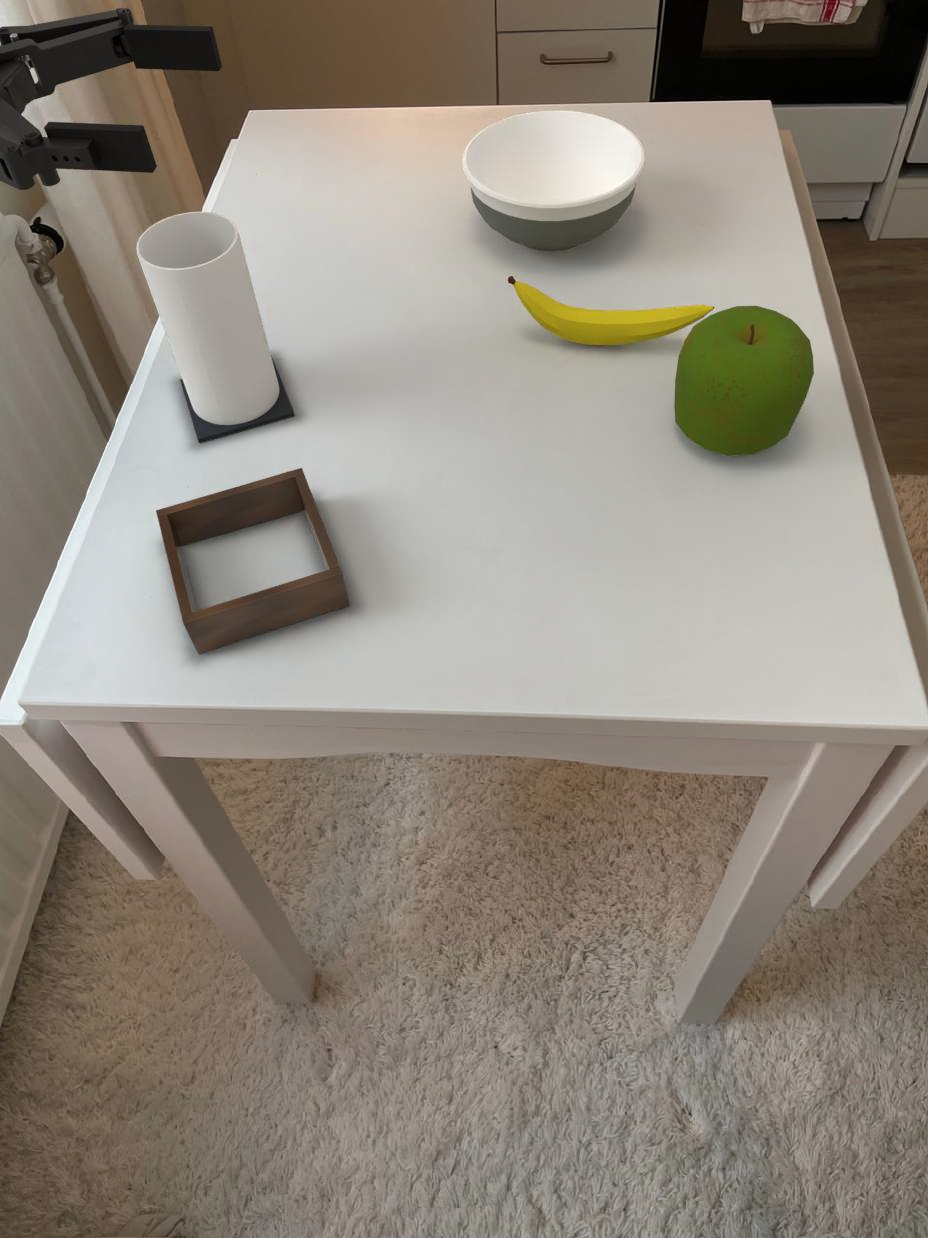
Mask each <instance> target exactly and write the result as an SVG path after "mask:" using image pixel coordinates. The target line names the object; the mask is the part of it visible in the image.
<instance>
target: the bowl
mask: <svg viewBox="0 0 928 1238" xmlns="http://www.w3.org/2000/svg"><path fill="white" fill-rule="evenodd" d="M461 164H462V169H463V174H464V175H465V176H466V178H467V181H468V184H469V187H470V193H471V198H472V203H473V205H474V207H475V208H476V210H477V212H478V213H479V215H480V216H481V218H482V219H483V221H484V223H486V224H487V225H488V226H489V227H490V229H492V230H494V231H495V232H497V233H498V234H500V235H501V236H503V237H504V238H506V239H507V240H510V241H512V242H514V243H516V244H518V245H523V246H524V247H526V248H528V249H532V250H536V251H542V252H558V251H564V250H570V249H571V248H575V247H577V246H579V245H582V244H584V243H588V242H590V241H592V240H594V239H596V238H598V237H599V236H601V235H602V234H604V233H606V232H608V231H609V230H610V229H611V228H612V227H613V226H615V225H616V224H617V223H618V222H619V220H620V219H621V218H622V216H623V215H624V214H625V212H626V211H627V209H628V208H629V207H630V205H631V204H632V200H633V198H634V195H635V190H636V187H637V182H638V179H639V177H640V176H641V175H642V173H643V170H644V168H645V166H646V151H645V149H644V147H643V144H642V142H641V141H640V139H639V138H638V137H637V135H636V134H635V133H634V132H633V131H631V130H630V129H628V128H627V127H626V126H625V125H623V124H621V123H619V122H617V121H614V120H612V119H611V118H608V117H604V116H601V115H598V114H594V113H588V112H583V111H575V110H563V109H561V110H560V109H559V110H555V109H553V110H551V109H550V110H548V109H547V110H539V111H531V112H530V111H529V112H526V113H525V112H524V113H520V114H515V115H512V116H509V117H506V118H503V119H500V120H498V121H496V122H494V123H492V124H489V125H487V126H486V127H485V128H484V129H483V128H482V130H480V131H479V132H477V133H476V135H474V136H473V137H472V138H471V139H470V140H469V141H468V144H466V147H465V149H464V151H463V153H462V159H461Z"/></svg>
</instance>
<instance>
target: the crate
mask: <svg viewBox="0 0 928 1238" xmlns="http://www.w3.org/2000/svg"><path fill="white" fill-rule="evenodd" d="M302 511H303V512H304V515H305V517H306V521H307V522H308V525H309V528H310V530H311V533H312V536H313V539H314V541H315V544H316V547H317V550H318V552H319V554H320V558H321V560H322V564H323V565H324V568H325V570H323V571H319V572H317V573H313V574H310V575H306V576H304V577H301V578H297V579H295V580H291V581H288V582H284V583H281V584H278V585H275V586H271V587H268V588H266V589H262V590H259V591H256V592H253V593H250V594H246V595H243V596H240V597H237V598H234V599H230V600H228V601H224V602H221V603H217V604H215V605H212V606H208V607H205V608H202V609H198V605H197V601H196V597H195V593H194V589H193V586H192V581H191V577H190V574H189V570H188V565H187V561H186V558H185V554H184V550H183V547H185V546H188V545H189V546H190V545H193V544H195V543H198V542H202V541H205V540H208V539H212V538H214V537H219V536H222V535H225V534H228V533H232V532H236V531H238V530H242V529H244V528H248V527H252V526H255V525H258V524H261V523H264V522H268V521H272V520H276V519H278V518H282V517H285V516H289V515H292V514H295V513H298V512H302ZM155 514H156V517H157V521H158V526H159V529H160V534H161V538H162V542H163V546H164V549H165V550H164V551H165V554H166V558H167V562H168V566H169V570H170V571H169V572H170V576H171V579H172V584H173V587H174V591H175V595H176V599H177V604H178V608H179V612H180V617H181V621H182V624H183V626H184V628H185V630H186V632H187V634H188V636H189V639H190V641H191V642H192V644H193V647H194V648H195V650H196V653H197V654H198V655H201V654H204V653H206V652H209V651H212V650H215V649H219V648H221V647H225V646H229V645H231V644H234V643H238V642H240V641H243V640H246V639H249V638H253V637H255V636H258V635H259V636H260V635H262V634H265V633H268V632H271V631H274V630H277V629H281V628H284V627H287V626H290V625H293V624H296V623H299V622H302V621H305V620H308V619H312V618H315V617H318V616H322V615H324V614H327V613H331V612H333V611H336V610H340V609H343V608H346V607H350V606H351V603H350V599H349V595H348V591H347V586H346V582H345V578H344V573H343V571H342V569H341V565H340V563H339V561H338V558H337V555H336V553H335V550H334V548H333V546H332V543H331V540H330V538H329V535H328V532H327V529H326V527H325V524H324V521H323V519H322V517H321V514H320V511H319V509H318V506H317V503H316V501H315V499H314V496H313V493H312V490H311V488H310V485H309V482H308V481H307V478H306V474H305V472H304V470H303V468H302V467H300V468H296V469H293V470H289V471H286V472H282V473H279V474H276V475H271V476H269V477H265V478H262V479H259V480H255V481H252V482H247V483H245V484H242V485H241V484H240V485H237V486H235V487H231V488H228V489H224V490H221V491H217V492H214V493H211V494H207V495H204V496H201V497H197V498H193V499H189V500H186V501H184V502H183V501H182V502H180V503H177V504H172V505H170V506H167V507H166V506H165V507H163V508H160V509H156V510H155Z"/></svg>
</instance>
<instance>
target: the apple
mask: <svg viewBox="0 0 928 1238" xmlns="http://www.w3.org/2000/svg"><path fill="white" fill-rule="evenodd" d="M814 374H815V366H814V354H813V348H812V343H811V340H810V338H809V337H808V336H807V335H806V334H805V332H804V331H803V330H802V328H801V327H800V326H799V325H798V324H797V323H796V321H794V320H793V319H792V318H790V317H788V316H786V315H784V314H782V313H780V312H778V311H776V310H774V309H770V308H766V307H762V306H759V305H736V306H733V307H730V308H726V309H723V310H719V311H717V312H715V313H712V314H710V315H708V316H707V317H704V318H703V319H701V320H700V321H699V322H697V323H696V324H695V325H693V327H692V328H691V330H690V331H689V333H688V334H687V336H686V338H685V339H684V341H683V344H682V347H681V349H680V352H679V354H678V358H677V364H676V371H675V379H674V403H673V407H674V422H675V423H676V425H677V427H679V429H680V430H681V431H682V433H683V434H684V435H685V437H686V438H688V439H689V440H691V441H692V442H694V443H695V444H696V445H697V446H699V447H700V448H702V449H704V450H706V451H709V452H713V453H717V454H721V455H724V456H727V457H733V456H734V457H735V456H747V455H748V456H749V455H755V454H757V453H760V452H762V451H765V450H767V449H770V448H773V447H774V446H776V445H777V444H779V443H780V442H782V441H783V440H784V439H786V437H788V436H789V434H790V432H791V430H792V428H793V425H794V424H795V422H796V419H797V418H798V415H799V413H800V412H801V409H802V407H803V405H804V403H805V401H806V399H807V396H808V393H809V390H810V387H811V384H812V381H813V377H814Z"/></svg>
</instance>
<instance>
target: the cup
mask: <svg viewBox="0 0 928 1238" xmlns="http://www.w3.org/2000/svg"><path fill="white" fill-rule="evenodd" d="M243 247H244V246H243V243H242V240H241V235H240V233H239V230H238V227H237V225H236V224H235V223H234V222H233V221H232V220H231V219H230V218H229V217H228V216H224V215H223V214H219V213H217V212H210V211H189V212H182V213H177V214H173V215H171V216H168V217H165V218H163V219H160V220H159V221H157V222H155V223H153V224H151V225H150V226H149V227H148V228H146V230H144V231H143V233H141V235H140V236H139V238H138V240H137V242H136V247H135V248H136V249H135V250H136V255H137V258H138V261H139V264H140V267H141V269H142V272H143V275H144V278H145V280H146V284H147V286H148V289H149V291H150V295H151V297H152V300H153V302H154V305H155V308H156V311H157V314H158V316H159V319H160V322H161V325H162V327H163V330H164V332H165V333H164V334H165V335H166V338H167V341H168V344H169V346H170V350H171V352H172V355H173V358H174V361H175V363H176V365H177V369H178V371H179V374H180V376H181V377H180V378H181V379H182V380H183V382H184V385H185V388H186V391H187V393H188V396H189V399H190V402H191V404H192V407H193V409H194V411H195V413H196V414H197V415H198V416H199V417H200V418H202V419H203V420H205V421H207V422H210V423H214V424H219V425H235V424H241V423H245V422H248V421H251V420H254V419H256V418H258V417H260V416H261V415H263V414H264V413H266V412H267V411H268V410H269V409H270V408H271V407H272V406H273V405H274V404H275V402H276V400H277V398H278V395H279V384H278V380H277V376H276V373H275V369H274V365H273V361H274V360H273V361H272V358H273V356H272V354H271V350H270V347H269V342H268V339H267V335H266V331H265V328H264V327H265V326H264V323H263V321H262V320H263V319H262V316H261V312H260V308H259V305H258V300H257V296H256V293H255V289H254V285H253V281H252V277H251V274H250V269H249V266H248V263H247V258H246V255H245V250H244V248H243ZM271 356H272V357H271Z"/></svg>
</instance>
